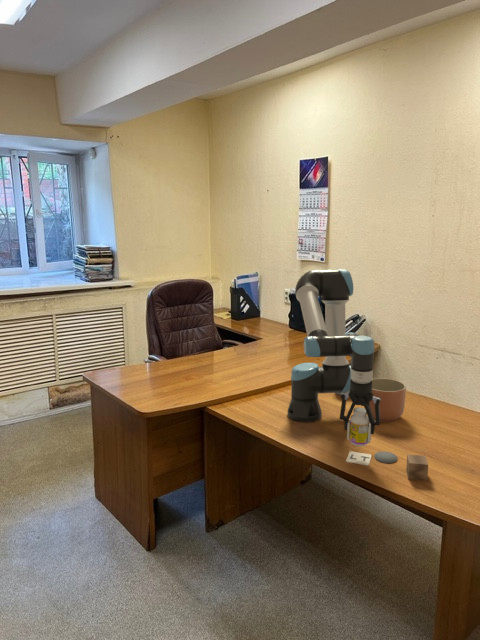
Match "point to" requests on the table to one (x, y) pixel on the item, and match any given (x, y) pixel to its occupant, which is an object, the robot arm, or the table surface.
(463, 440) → the table surface
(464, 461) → the table surface
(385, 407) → the planter
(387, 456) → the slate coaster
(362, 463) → the tile
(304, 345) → the robot arm
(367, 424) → the supplement bottle
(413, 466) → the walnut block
